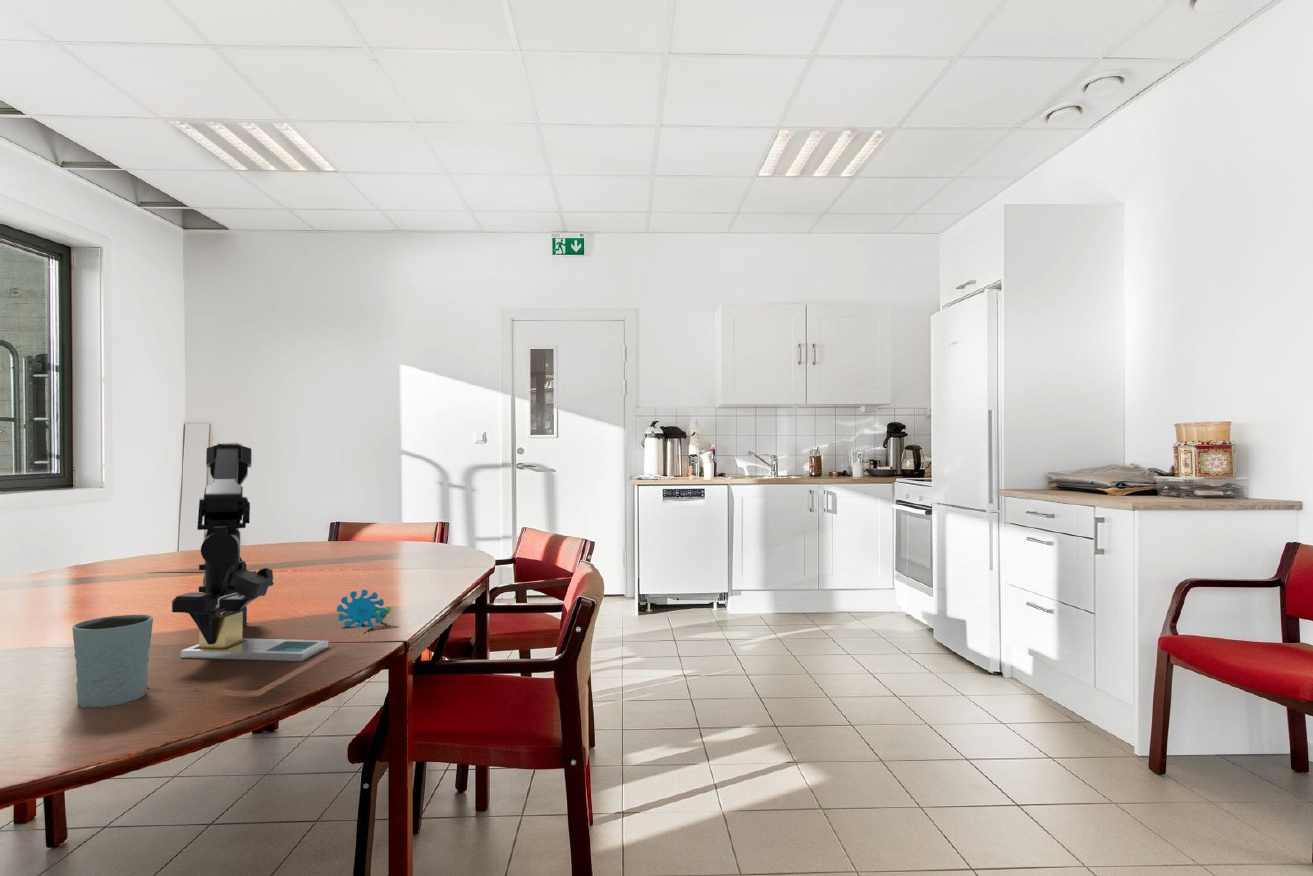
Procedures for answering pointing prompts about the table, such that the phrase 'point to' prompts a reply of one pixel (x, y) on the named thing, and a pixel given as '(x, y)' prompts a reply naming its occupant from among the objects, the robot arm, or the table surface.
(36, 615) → the table surface
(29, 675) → the table surface
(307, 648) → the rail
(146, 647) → the embossed vase
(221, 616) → the block
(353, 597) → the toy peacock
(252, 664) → the table surface
